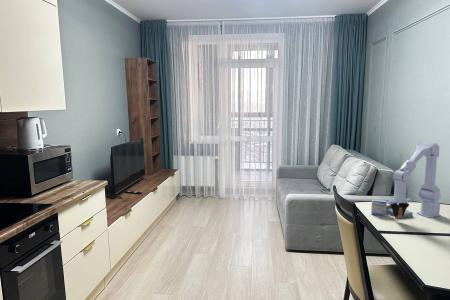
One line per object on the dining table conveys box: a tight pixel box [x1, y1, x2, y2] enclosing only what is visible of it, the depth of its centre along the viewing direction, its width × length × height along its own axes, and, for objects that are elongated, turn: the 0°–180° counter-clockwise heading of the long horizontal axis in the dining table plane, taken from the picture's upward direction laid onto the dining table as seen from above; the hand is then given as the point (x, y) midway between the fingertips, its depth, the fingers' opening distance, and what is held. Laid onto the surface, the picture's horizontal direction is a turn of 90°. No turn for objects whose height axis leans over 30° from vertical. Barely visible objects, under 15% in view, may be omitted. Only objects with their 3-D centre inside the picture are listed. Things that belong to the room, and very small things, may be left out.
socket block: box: [386, 208, 414, 219], centre depth 190 cm, size 10×10×2 cm
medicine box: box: [370, 198, 388, 217], centre depth 191 cm, size 8×4×9 cm, turn 68°
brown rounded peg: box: [394, 208, 403, 221], centre depth 177 cm, size 4×4×6 cm
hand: (398, 215), depth 178 cm, fingers closed on brown rounded peg, 3 cm apart
